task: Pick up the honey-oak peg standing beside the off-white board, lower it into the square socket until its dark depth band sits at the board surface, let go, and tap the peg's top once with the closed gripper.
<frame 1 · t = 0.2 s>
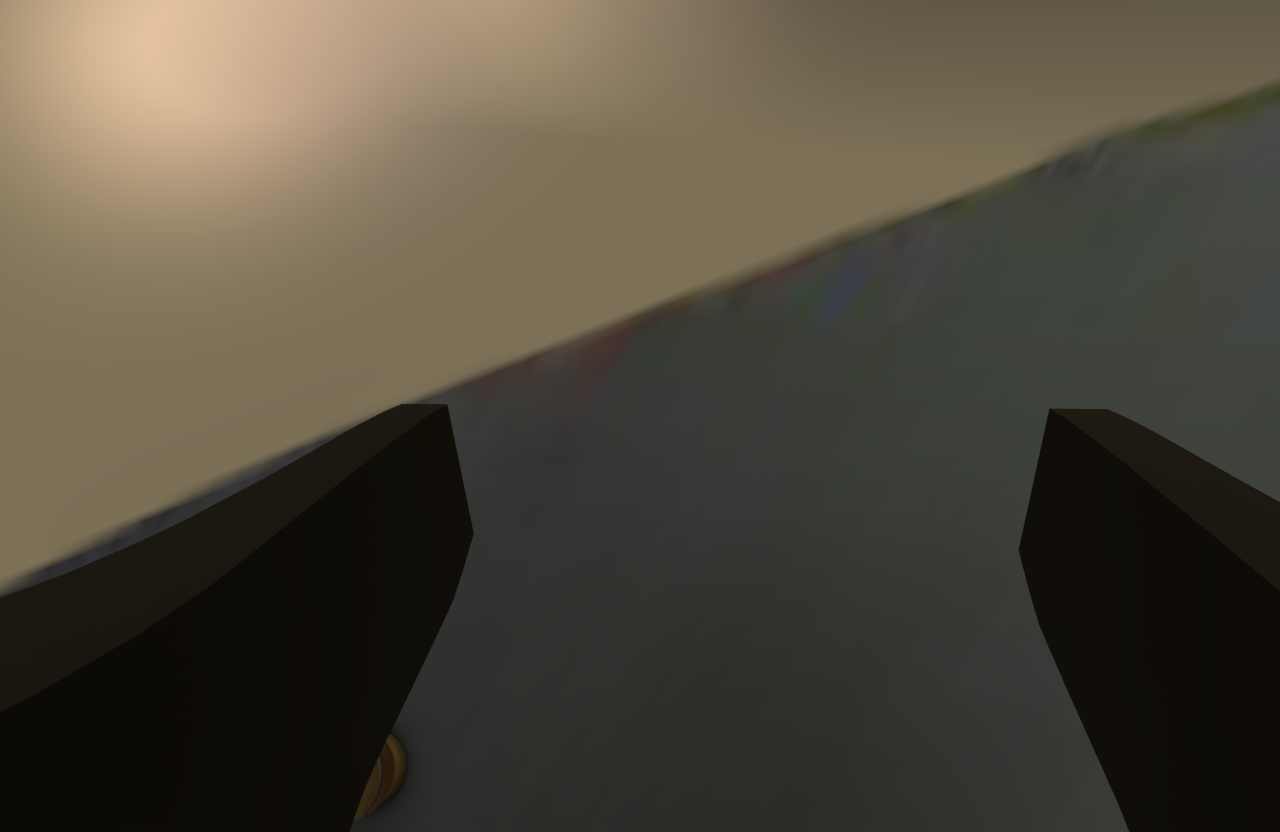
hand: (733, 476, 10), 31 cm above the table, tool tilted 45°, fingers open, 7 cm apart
oak peg: (374, 767, 40), on the table
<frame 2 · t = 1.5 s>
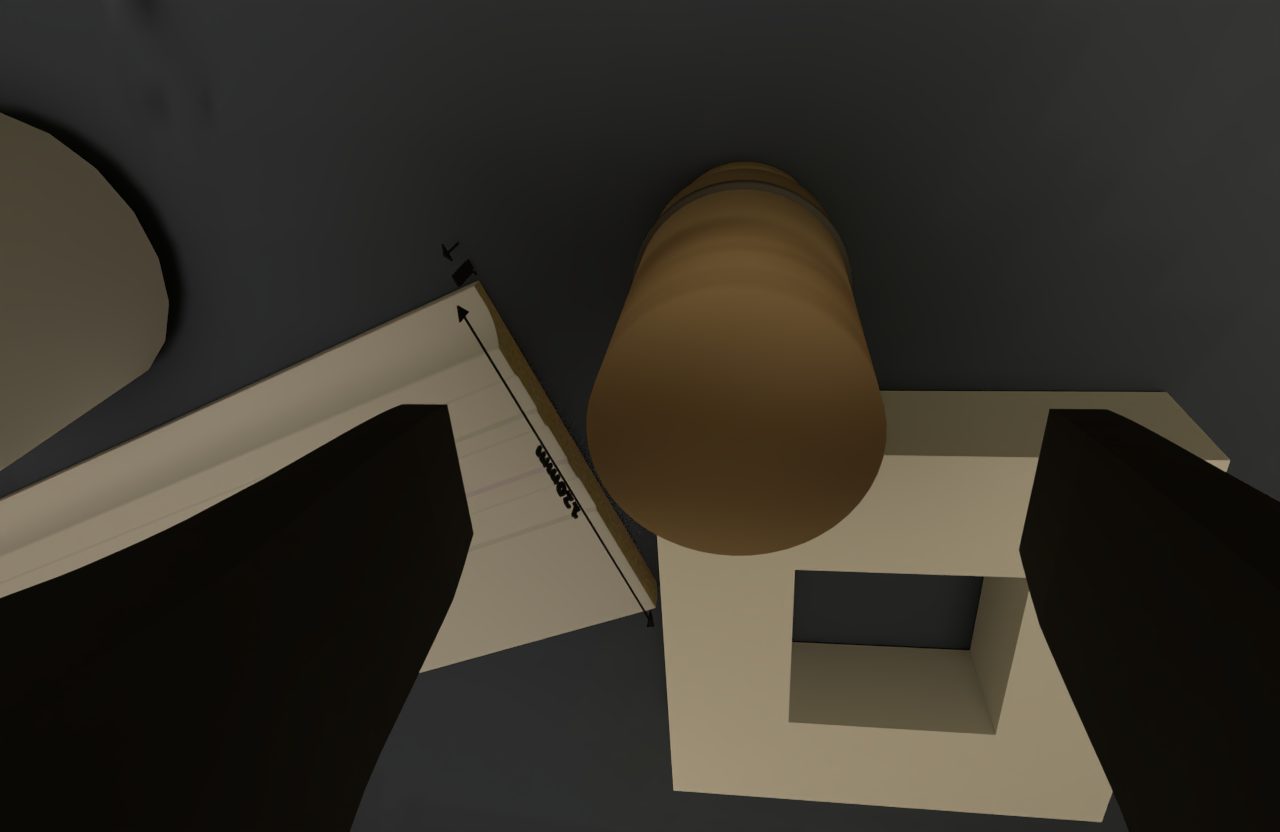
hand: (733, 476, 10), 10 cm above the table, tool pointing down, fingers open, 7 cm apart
can: (57, 249, 21), on the table
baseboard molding: (179, 560, 27), on the table
oak peg: (742, 236, 19), on the table
socket board: (883, 577, 23), on the table
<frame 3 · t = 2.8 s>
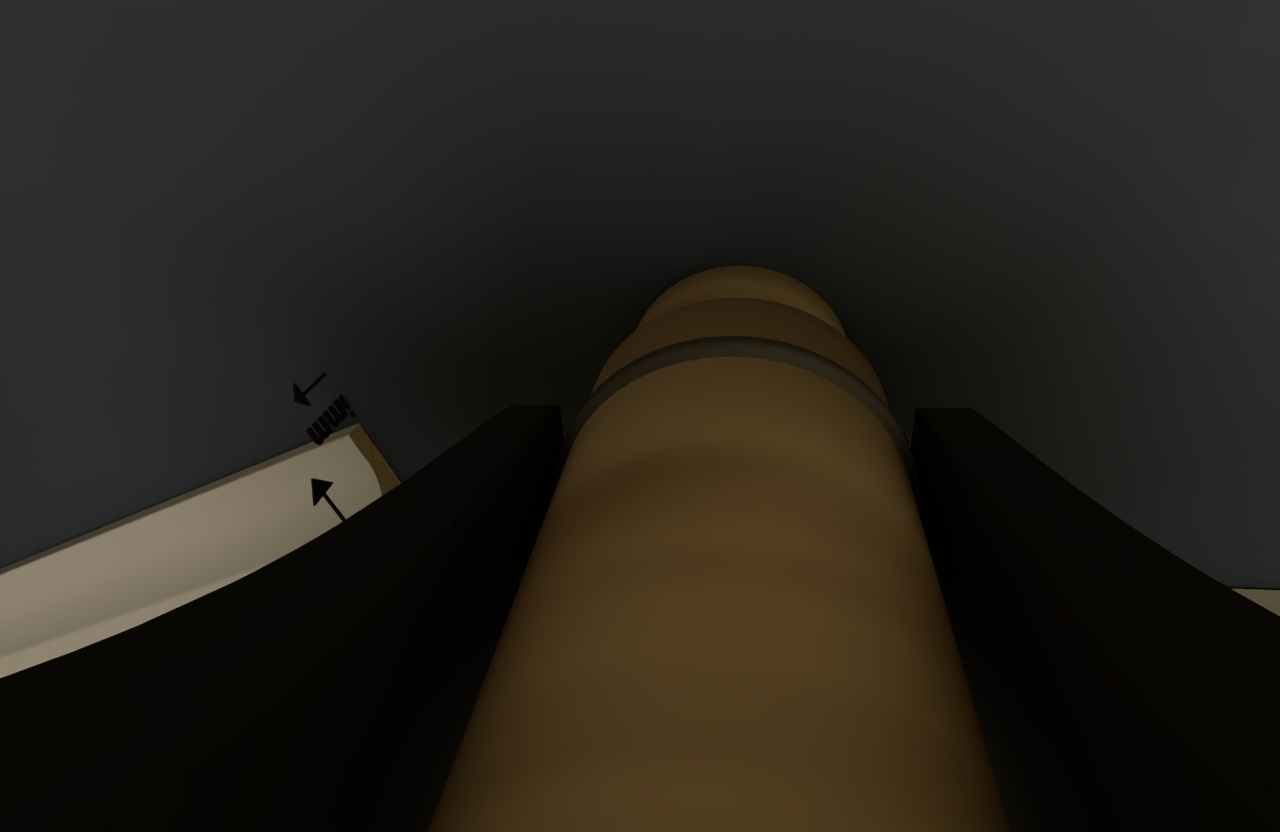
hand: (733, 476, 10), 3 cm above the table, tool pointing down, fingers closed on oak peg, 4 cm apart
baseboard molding: (12, 732, 21), on the table
oak peg: (737, 370, 12), on the table, touching gripper
socket board: (930, 799, 17), on the table
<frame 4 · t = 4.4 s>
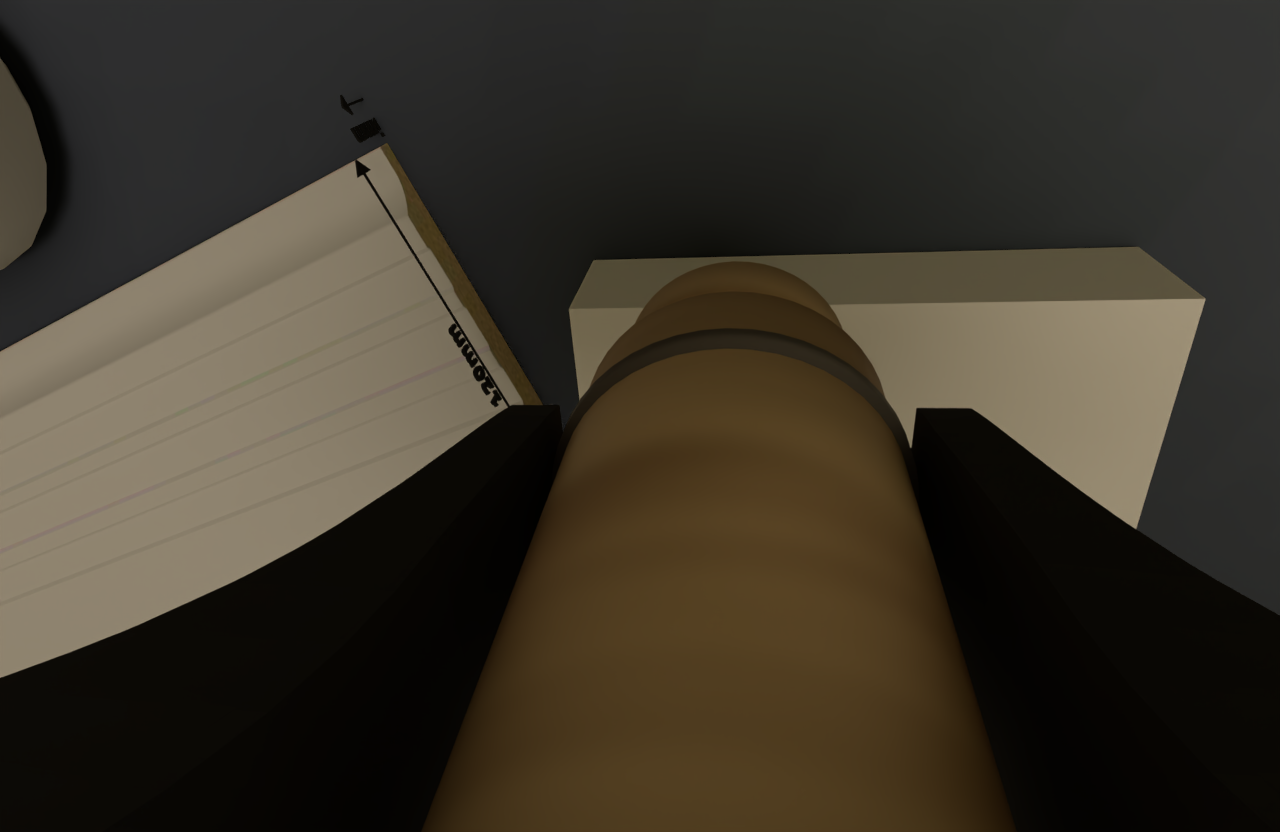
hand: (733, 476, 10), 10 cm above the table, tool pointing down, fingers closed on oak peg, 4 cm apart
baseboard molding: (91, 479, 26), on the table
oak peg: (735, 367, 12), point 7 cm above the table, touching gripper
socket board: (838, 473, 21), on the table
when the fingers open (4 cm above the table, at t = 6.2 s): oak peg drops 1 cm, resting in socket board.
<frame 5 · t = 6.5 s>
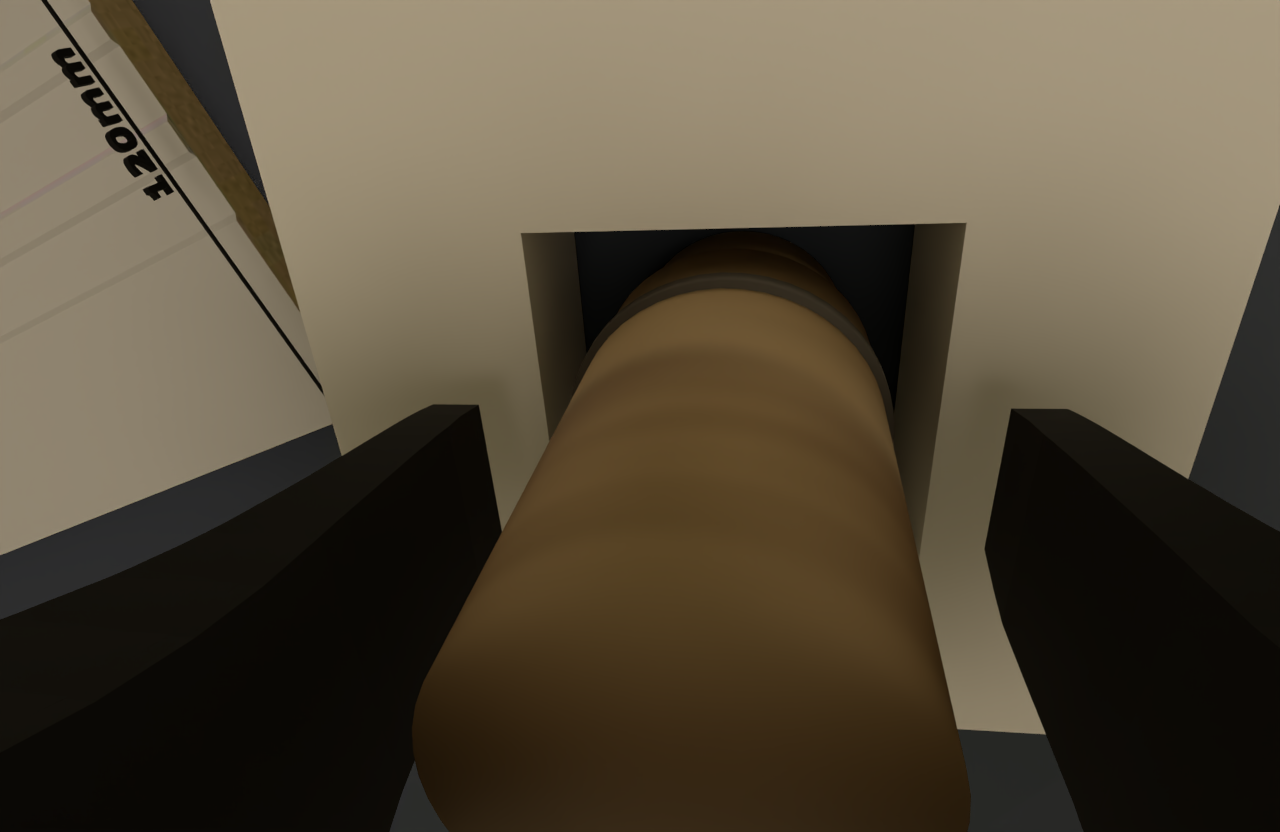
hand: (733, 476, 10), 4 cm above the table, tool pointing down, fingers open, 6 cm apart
oak peg: (741, 330, 14), resting in socket board
socket board: (739, 331, 14), on the table
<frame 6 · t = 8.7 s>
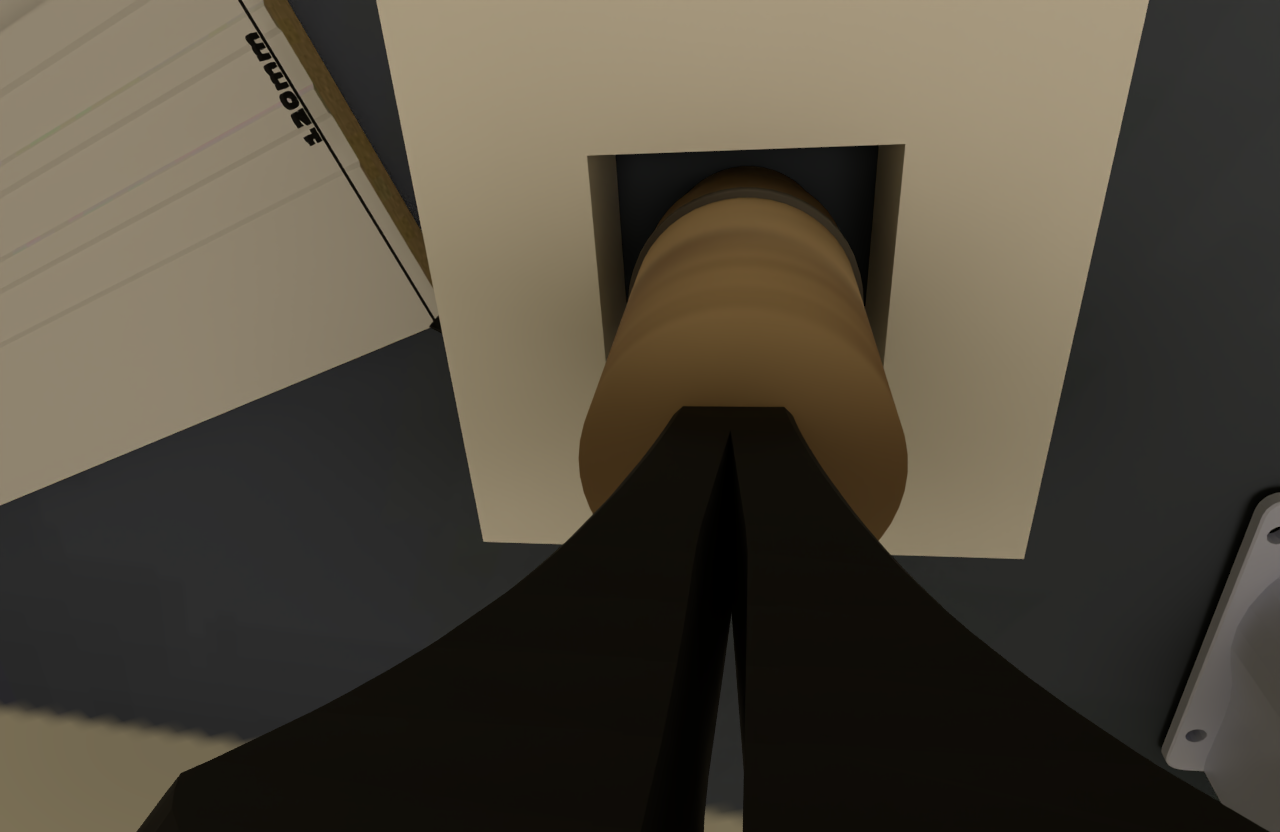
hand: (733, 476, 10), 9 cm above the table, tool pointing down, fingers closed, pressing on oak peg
oak peg: (745, 245, 18), resting in socket board, touching gripper
socket board: (743, 247, 18), on the table
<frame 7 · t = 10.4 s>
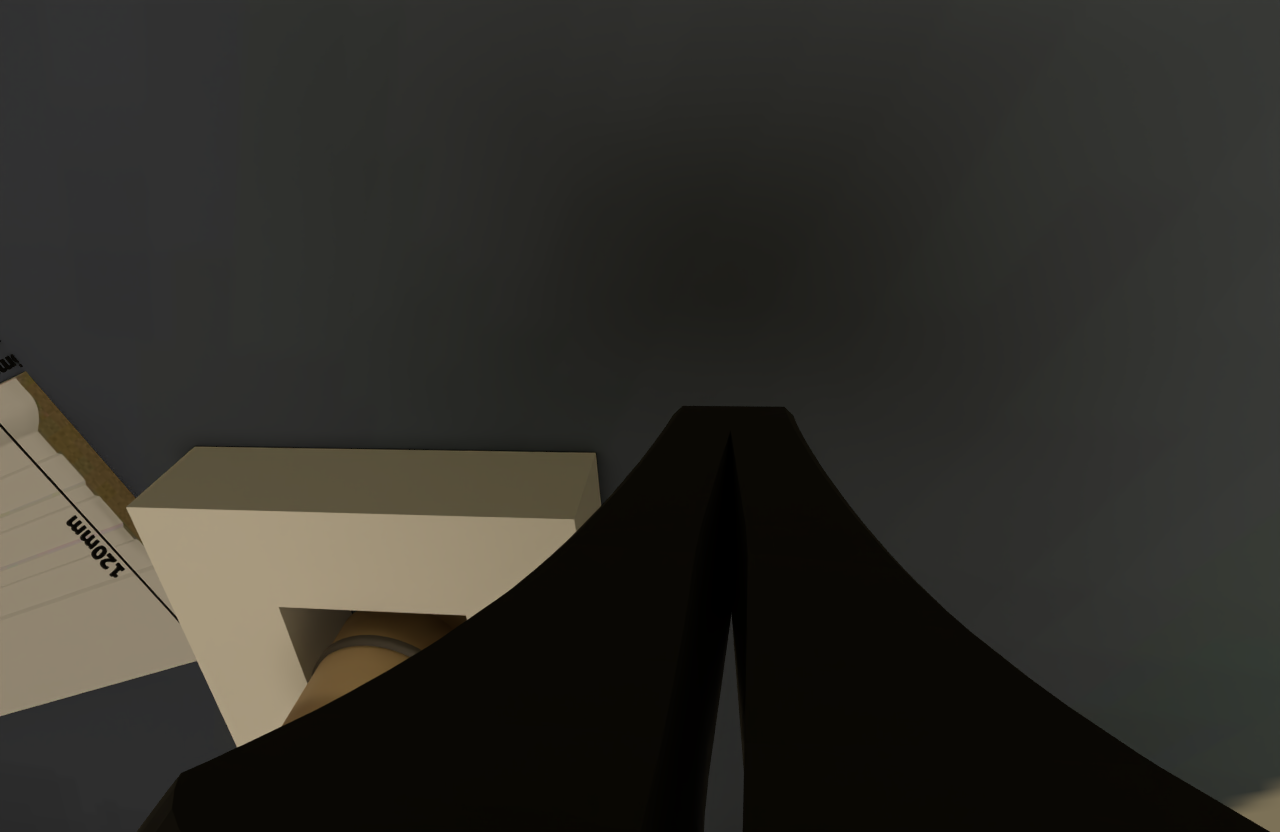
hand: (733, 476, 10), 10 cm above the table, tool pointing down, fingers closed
oak peg: (429, 606, 26), resting in socket board
socket board: (428, 608, 26), on the table
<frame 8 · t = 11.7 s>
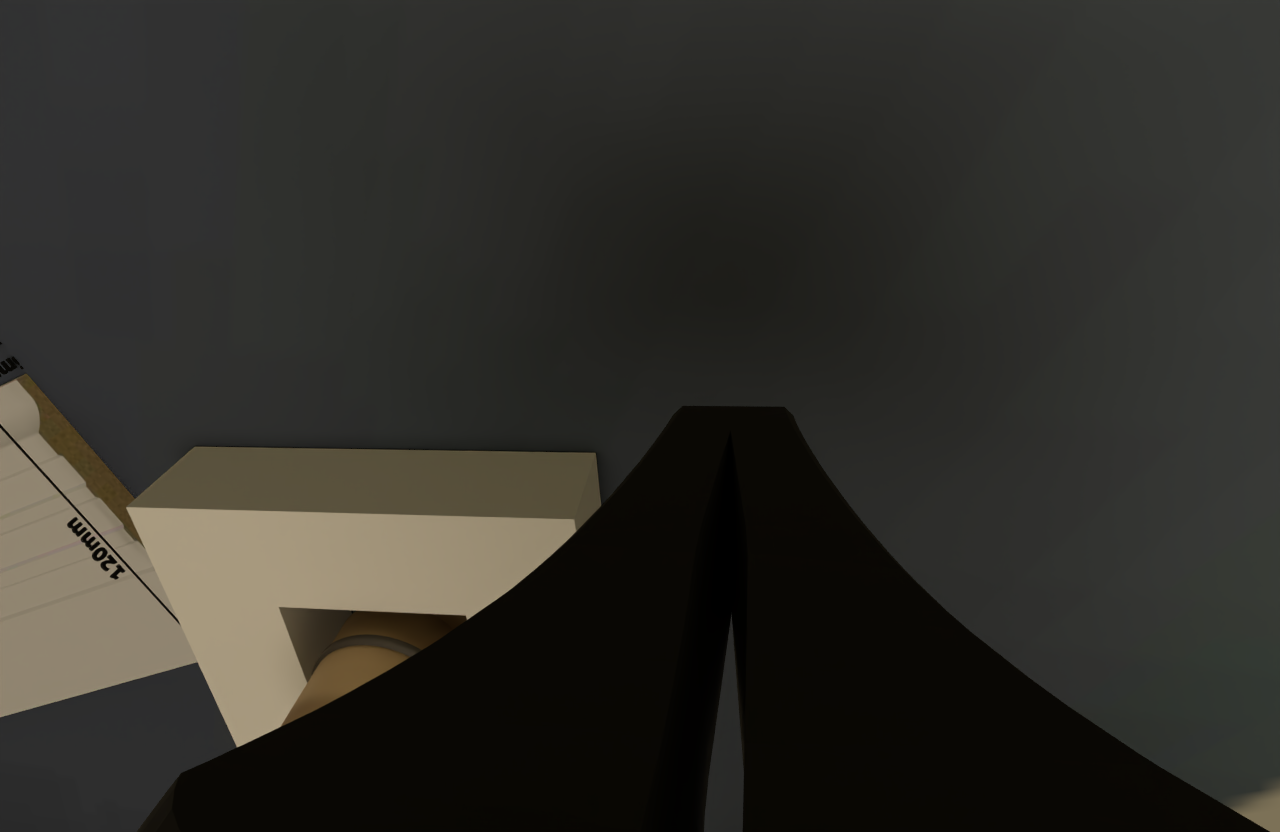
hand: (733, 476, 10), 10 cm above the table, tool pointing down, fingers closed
oak peg: (429, 606, 26), resting in socket board
socket board: (428, 608, 26), on the table
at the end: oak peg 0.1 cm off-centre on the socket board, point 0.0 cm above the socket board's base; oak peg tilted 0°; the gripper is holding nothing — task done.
